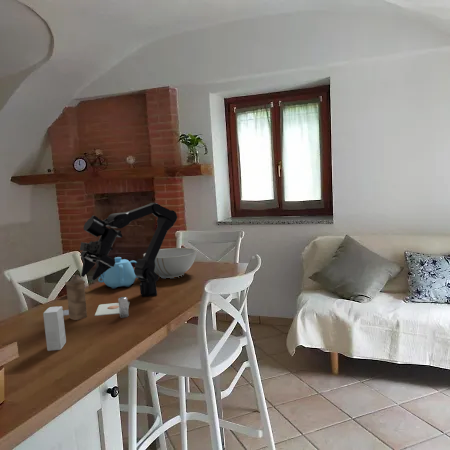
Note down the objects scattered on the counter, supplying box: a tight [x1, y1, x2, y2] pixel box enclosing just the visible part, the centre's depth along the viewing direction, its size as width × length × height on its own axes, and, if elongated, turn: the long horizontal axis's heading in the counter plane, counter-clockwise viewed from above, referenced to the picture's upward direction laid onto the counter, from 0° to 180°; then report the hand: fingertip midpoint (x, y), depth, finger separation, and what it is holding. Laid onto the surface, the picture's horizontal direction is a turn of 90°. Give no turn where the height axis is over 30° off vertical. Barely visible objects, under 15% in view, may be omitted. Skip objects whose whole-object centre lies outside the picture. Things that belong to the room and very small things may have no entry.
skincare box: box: [42, 306, 67, 352], centre depth 137 cm, size 6×4×12 cm
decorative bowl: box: [142, 247, 198, 279], centre depth 226 cm, size 27×27×12 cm
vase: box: [69, 274, 86, 288], centre depth 199 cm, size 7×7×9 cm
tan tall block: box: [64, 279, 88, 321], centre depth 164 cm, size 5×5×14 cm
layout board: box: [63, 301, 131, 321], centre depth 172 cm, size 26×16×1 cm, turn 99°
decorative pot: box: [97, 256, 138, 290], centre depth 211 cm, size 16×16×14 cm
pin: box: [118, 296, 130, 319], centre depth 163 cm, size 3×3×7 cm
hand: (87, 278), depth 173 cm, fingers open, 9 cm apart
